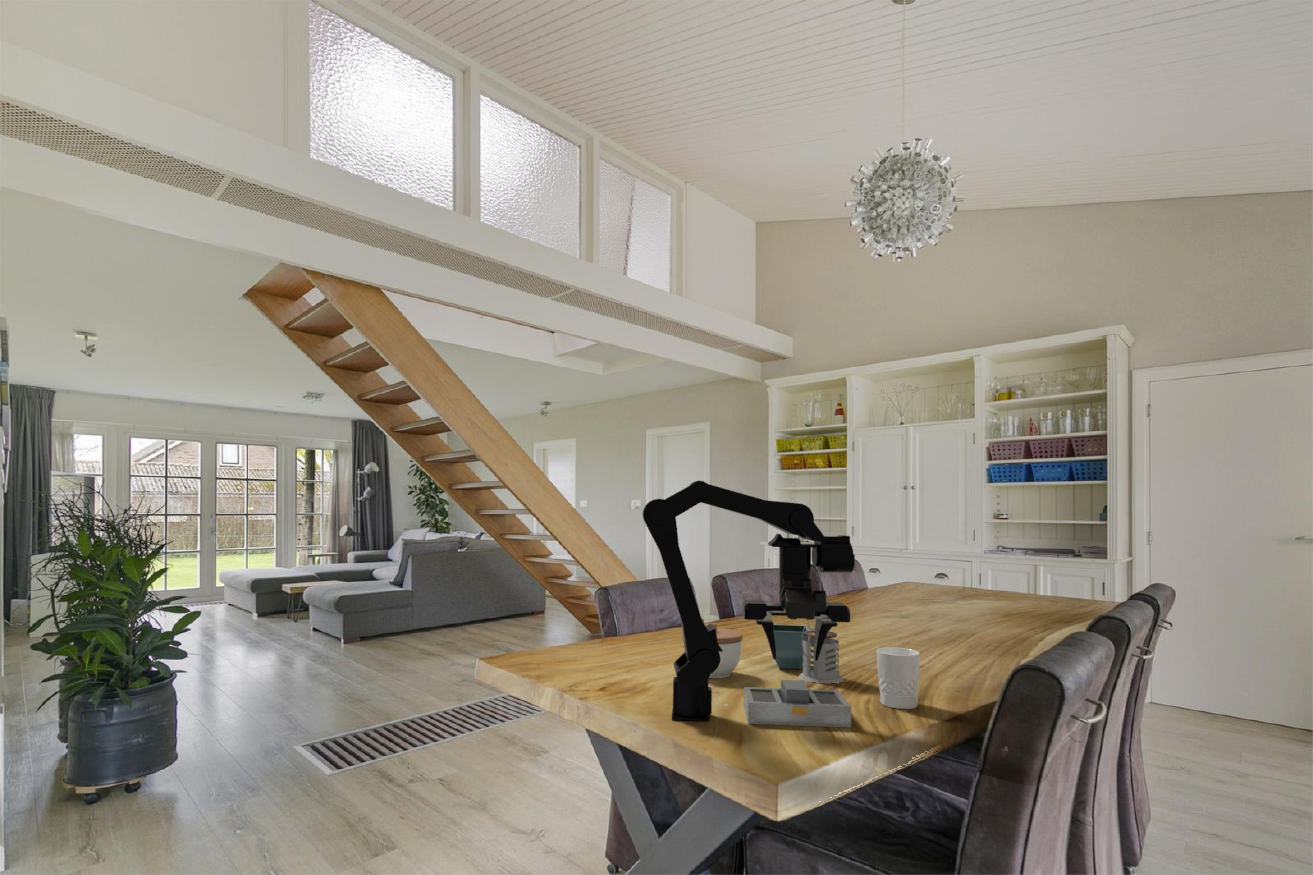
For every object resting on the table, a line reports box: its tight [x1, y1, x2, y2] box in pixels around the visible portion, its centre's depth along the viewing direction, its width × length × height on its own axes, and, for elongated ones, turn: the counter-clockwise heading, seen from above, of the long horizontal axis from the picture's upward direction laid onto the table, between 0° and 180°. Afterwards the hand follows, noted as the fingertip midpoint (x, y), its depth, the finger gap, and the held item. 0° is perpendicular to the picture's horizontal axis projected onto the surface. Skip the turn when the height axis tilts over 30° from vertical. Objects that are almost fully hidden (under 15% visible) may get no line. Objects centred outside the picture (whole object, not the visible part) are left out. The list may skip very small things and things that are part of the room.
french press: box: [798, 567, 845, 685], centre depth 153 cm, size 10×12×25 cm
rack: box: [743, 686, 852, 728], centre depth 124 cm, size 18×11×4 cm, turn 87°
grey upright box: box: [780, 679, 810, 703], centre depth 124 cm, size 4×7×4 cm, turn 178°
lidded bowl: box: [709, 623, 743, 679], centre depth 155 cm, size 13×13×11 cm
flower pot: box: [773, 624, 809, 670], centre depth 163 cm, size 9×9×9 cm
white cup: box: [876, 646, 921, 710], centre depth 134 cm, size 8×8×10 cm
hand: (795, 659), depth 125 cm, fingers open, 7 cm apart
